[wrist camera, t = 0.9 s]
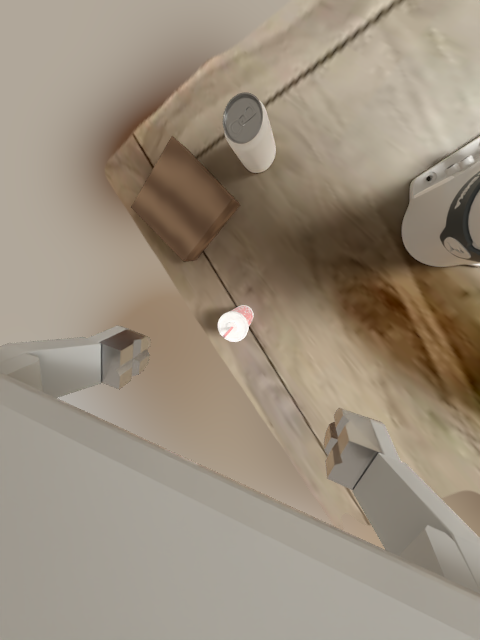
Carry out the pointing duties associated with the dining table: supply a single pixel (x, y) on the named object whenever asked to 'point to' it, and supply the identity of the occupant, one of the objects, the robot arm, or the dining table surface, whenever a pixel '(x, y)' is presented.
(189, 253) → the riser block
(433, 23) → the dining table surface
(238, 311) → the beverage cup
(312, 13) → the dining table surface
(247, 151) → the can
